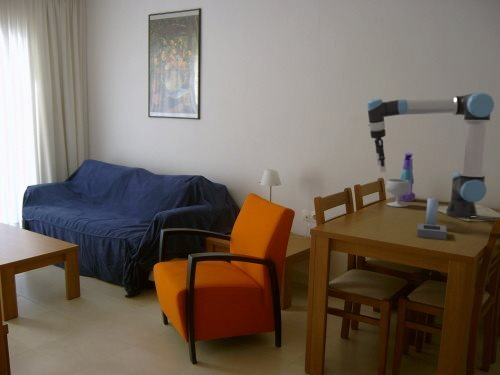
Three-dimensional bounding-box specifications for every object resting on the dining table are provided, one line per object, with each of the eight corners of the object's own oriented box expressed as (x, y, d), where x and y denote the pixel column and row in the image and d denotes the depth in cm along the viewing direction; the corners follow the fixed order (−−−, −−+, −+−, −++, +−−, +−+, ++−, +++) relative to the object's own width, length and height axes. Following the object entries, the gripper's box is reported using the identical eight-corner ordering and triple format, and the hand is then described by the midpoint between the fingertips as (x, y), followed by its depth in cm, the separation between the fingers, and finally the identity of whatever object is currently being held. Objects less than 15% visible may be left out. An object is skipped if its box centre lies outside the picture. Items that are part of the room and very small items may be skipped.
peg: (436, 226, 230) (438, 198, 228) (436, 229, 226) (438, 200, 223) (425, 225, 232) (427, 197, 230) (425, 228, 227) (427, 199, 225)
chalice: (380, 204, 283) (381, 179, 280) (394, 202, 291) (396, 178, 288) (400, 208, 272) (401, 183, 269) (414, 206, 280) (416, 181, 277)
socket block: (444, 233, 218) (445, 225, 218) (446, 239, 207) (446, 231, 207) (417, 230, 222) (417, 223, 222) (417, 236, 211) (417, 229, 211)
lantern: (419, 201, 294) (422, 153, 289) (401, 202, 292) (405, 153, 287) (409, 197, 307) (412, 151, 302) (392, 198, 305) (395, 151, 300)
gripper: (368, 126, 259) (372, 163, 264) (372, 135, 235) (376, 175, 241) (382, 123, 257) (386, 161, 263) (387, 133, 234) (392, 173, 240)
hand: (381, 168), depth 252 cm, fingers open, 13 cm apart
